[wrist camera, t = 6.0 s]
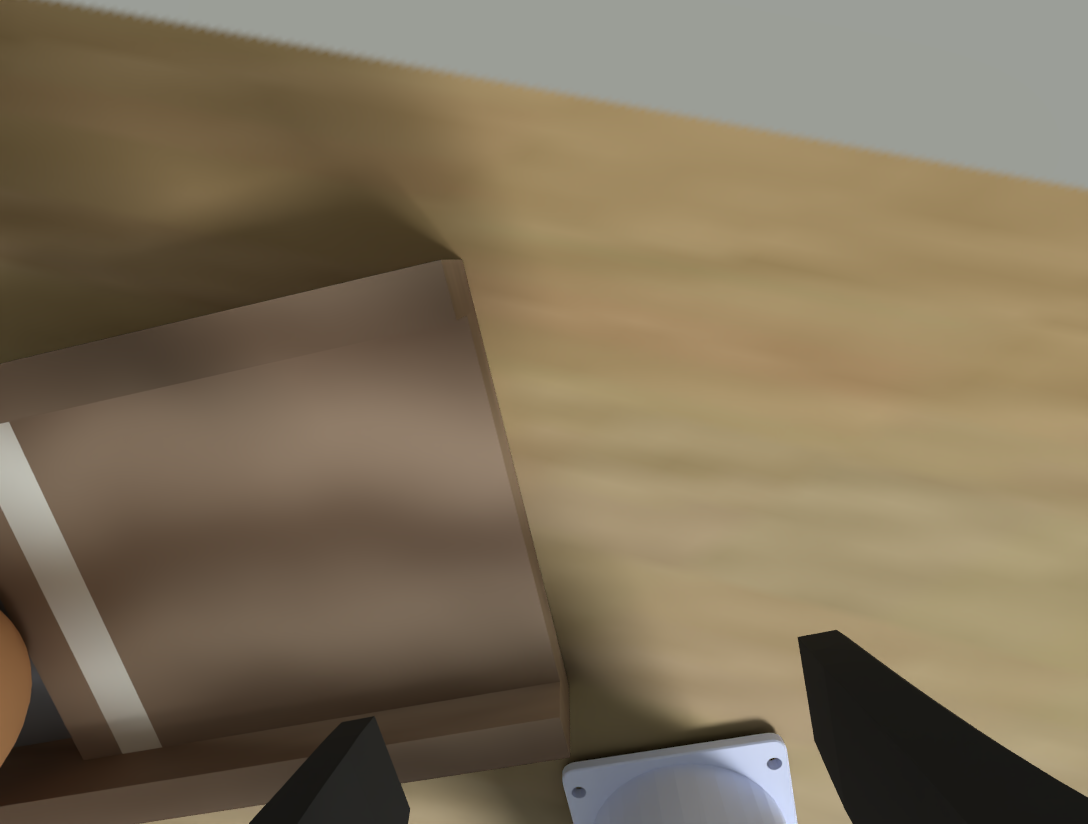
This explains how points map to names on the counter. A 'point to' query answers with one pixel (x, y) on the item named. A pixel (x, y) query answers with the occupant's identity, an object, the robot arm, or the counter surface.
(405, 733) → the tray
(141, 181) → the counter surface
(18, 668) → the ball
